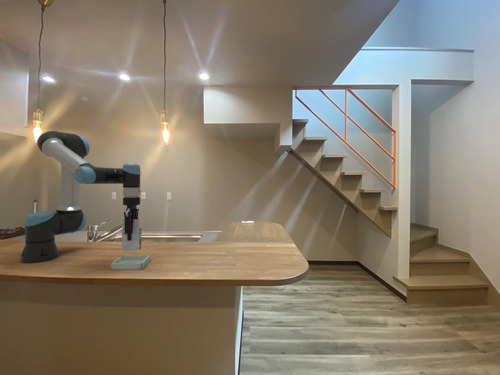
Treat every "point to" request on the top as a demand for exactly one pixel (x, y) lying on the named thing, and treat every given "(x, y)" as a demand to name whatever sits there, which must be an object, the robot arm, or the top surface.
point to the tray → (130, 262)
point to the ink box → (135, 236)
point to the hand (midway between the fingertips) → (131, 246)
